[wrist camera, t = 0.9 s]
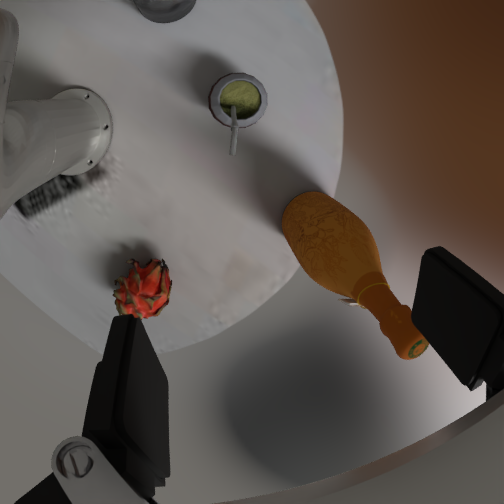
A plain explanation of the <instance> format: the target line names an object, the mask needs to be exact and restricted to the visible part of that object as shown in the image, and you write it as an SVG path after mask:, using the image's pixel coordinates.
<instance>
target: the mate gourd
mask: <svg viewBox="0 0 504 504" xmlns="http://www.w3.org/2000/svg"><path fill="white" fill-rule="evenodd" d="M208 102H209V109H210V111H211V113H212V115H213V117H214V118H215V119H216V120H217V121H219V122H220V123H221V124H222V125H225V126H228V127H231V131H232V136H231V146H230V155H234V156H235V154H236V144H237V133H238V130H239V128H246V127H248V126H250V125H252V124H254V123H256V122H257V121H258V120H259V119H260V118H261V117H262V116H263V115H264V112H265V110H266V107H267V93H266V91H265V88H264V86H263V84H262V83H260V82H259V81H258V80H257V79H256V78H255V77H254V76H251V75H248V74H245V73H231V74H228V75H226V76H224V77H222V78H220V79H219V80H218V81H217V82H216V83H215V84H214V85H213V86H212V88H211V91H210V94H209V96H208Z"/></svg>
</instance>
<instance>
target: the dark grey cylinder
mask: <svg viewBox="0 0 504 504" xmlns="http://www.w3.org/2000/svg"><path fill="white" fill-rule="evenodd" d="M133 1H134V2H135V4H136V5H137V7H138V8H139V10H140V11H141V13H142V14H143V16H144V17H146V18H147V19H148V20H150V21H153V22H156V23H170V22H174V21H177V20H179V19H181V18H183V17H184V16H186V15H187V14H188V13H189V12H190V11H191V10H192V9H193V7H194V5H195V3H196V0H173V1H161V0H133Z"/></svg>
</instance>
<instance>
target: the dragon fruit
mask: <svg viewBox="0 0 504 504" xmlns="http://www.w3.org/2000/svg"><path fill="white" fill-rule="evenodd" d="M126 263H128V264H133V269H129V276H128V278H126V277H123V276H120V277H119V278H118V279H116V280H115V281H114V283H115V285H116V284H117V281H118V282H119V284H120V289H116V290H114V294H113V296H114V297H116V300H115V305H116V307H117V308H116V309H117V311H118V312H119V316H120V315H121V314H122V315H126V314H133V315H134V317H135V318H137V317H139V318H140V319H141V320H142V318H146V319H148V318H149V317H151V316H158V315H159V314H160V312H161V311H162V309H163V308H164V307H165V306H166V305H168V303H169V296H170V291H171V287H172V280H171V281H170V277H169V269H168V267H167V265H166V264H165V261H164V260H163V259H162V262H161V261H160V260H158V259H151V261H150V262H148V263H147V264H146V265H148V264H149V265H148V266H147V267H145V268H143V269H141V268H140V267H139V262H137V261H136V260H134V259H129V260H128V261H126ZM161 263H163V266H162V267H160V265H161Z"/></svg>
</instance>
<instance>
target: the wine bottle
mask: <svg viewBox="0 0 504 504" xmlns="http://www.w3.org/2000/svg"><path fill="white" fill-rule="evenodd" d="M282 230H283V233H284V236H285V238H286V240H287V242H288V244H289V246H290V247H291V249H292V251H293V253H294V255H295V256H296V258H297V260H298V261H299V263H300V265H301V266H302V268H303V269H304V270H305V272H306V273H307V274H308V275H309V276H310V277H311V278H312V279H313V280H314V281H315V282H317V283H318V284H319V285H321V286H323V287H324V288H326V289H328V290H330V291H332V292H335V293H337V294H340V295H344V296H346V297H349V298H352V299H338V300H339V301H341V302H343V303H345V304H346V305H348V306H360V307H362V306H364V307H365V308H366V309H368V310H369V311H370V312H371V313H372V314H373V315H374V316H375V317H376V319H377V320H378V321H379V322H380V323H379V324H380V329H381V331H382V333H383V334H384V335H385V336H387V337H388V338H389V340H390V341H391V343H392V345H393V346H394V348H395V350H396V353H397V354H398V356H399V357H400V358H402V359H407V360H409V359H414V358H417V357H418V356H420V355H421V354H422V353H423V352H424V351H425V350H426V349H427V347H428V345H429V342H428V341H427V340H426V339H425V338H424V336H423V335H422V334H421V333H420V332H419V330H418V329H417V328H416V327H415V326H414V325H413V323H412V320H411V313H412V311H411V309H410V308H409V307H408V306H407V305H401V303H400V302H399V301H398V300H397V298H396V297H395V296H394V294H393V293H392V291H391V290H390V287H389V285H388V283H387V281H386V279H385V277H384V275H383V273H382V269H381V262H380V257H379V252H378V249H377V246H376V243H375V240H374V238H373V236H372V234H371V232H370V230H369V229H368V227H367V226H366V225H365V224H364V222H363V221H362V220H361V219H359V217H357V216H356V215H355V214H354V213H352V212H351V211H350V210H349V209H347V208H346V207H345V206H343V205H342V204H340V203H339V202H338V201H336V200H335V199H333V198H331V197H330V196H328V195H326V194H324V193H321V192H306V193H303V194H300V195H299V196H297V197H295V198H294V199H293V200H292V201H291V202H290V203H289V204H288V205H287V207H286V209H285V211H284V213H283V217H282ZM364 307H362V308H364ZM365 308H364V309H365Z"/></svg>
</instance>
